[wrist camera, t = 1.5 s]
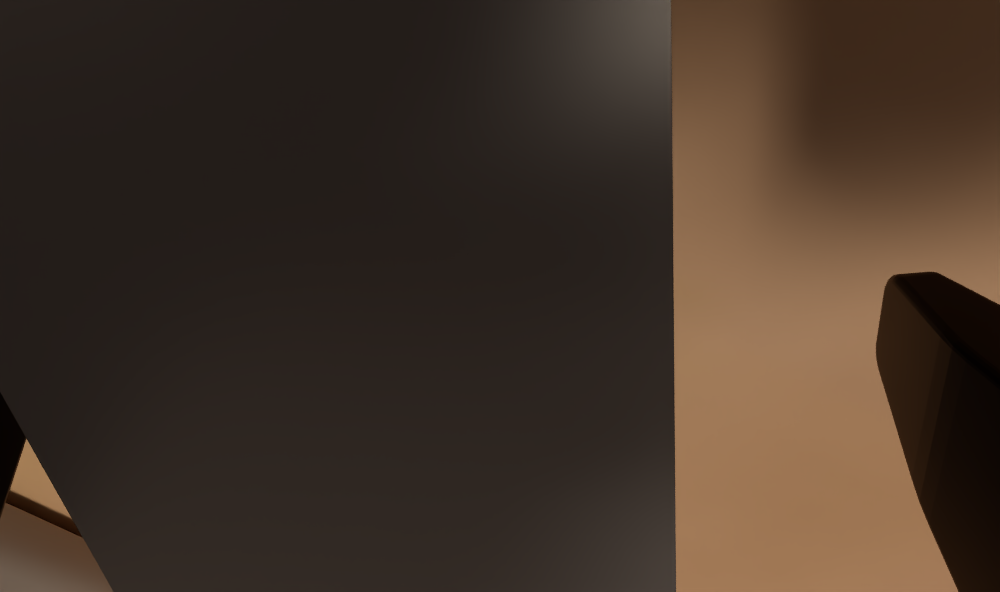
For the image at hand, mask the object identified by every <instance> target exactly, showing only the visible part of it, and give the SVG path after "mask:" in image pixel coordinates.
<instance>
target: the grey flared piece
mask: <svg viewBox="0 0 1000 592" xmlns="http://www.w3.org/2000/svg"><path fill="white" fill-rule="evenodd" d="M0 592H113V590H112V588H111V587H110V585H109V583H108V581H107V580H106V578H105V576H104V574H103V572H102V571H101V569H100V567H99V565H98V564H97V562H96V560H95V558H94V557H93V555H92V553H91V551H90V550H89V548H88V546H87V544H86V542H85V541H84V539H83V538H82V537H80V536H78V535H75V534H73V533H71V532H69V531H67V530H64V529H62V528H60V527H58V526H56V525H53V524H51V523H49V522H47V521H45V520H42V519H40V518H38V517H36V516H34V515H31V514H29V513H27V512H25V511H23V510H21V509H18V508H16V507H14V506H12V505H10V504H7V503H5V506H4V509H3V512H2V515H1V518H0Z"/></svg>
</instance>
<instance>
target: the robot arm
mask: <svg viewBox="0 0 1000 592" xmlns="http://www.w3.org/2000/svg"><path fill="white" fill-rule="evenodd" d="M876 358H877V364H878V369H879V372H880V376H881V379H882V382H883V386H884V389H885V392H886V395H887V399H888V402H889V405H890V409H891V412H892V415H893V419H894V422H895V425H896V429H897V432H898V435H899V438H900V442H901V445H902V448H903V452H904V455H905V458H906V462H907V465H908V468H909V471H910V475H911V478H912V481H913V484H914V487H915V490H916V493H917V496H918V499H919V502H920V505H921V507H922V510H923V512H924V514H925V517H926V519H927V522H928V524H929V526H930V529H931V531H932V533H933V535H934V538H935V540H936V542H937V544H938V547H939V549H940V551H941V553H942V556H943V558H944V560H945V562H946V565H947V567H948V569H949V571H950V574H951V576H952V578H953V580H954V583H955V585H956V587H957V589H958V592H1000V305H999V304H997V303H995V302H993V301H991V300H989V299H988V298H986V297H984V296H982V295H980V294H978V293H976V292H974V291H972V290H970V289H968V288H966V287H964V286H962V285H960V284H959V283H957V282H955V281H953V280H951V279H949V278H947V277H945V276H943V275H941V274H939V273H936V272H919V273H908V274H896V275H893V276H892V277H891V278H890V279H889V280H888V282H887V284H886V286H885V290H884V295H883V302H882V308H881V315H880V321H879V328H878V335H877V341H876ZM25 441H26V437H25V435H24V433H23V431H22V430H21V428H20V426H19V424H18V422H17V421H16V419H15V417H14V415H13V414H12V412H11V410H10V408H9V407H8V405H7V403H6V401H5V400H4V398H3V396H2V394H1V392H0V518H1V515H2V512H3V509H4V506H5V503H6V500H7V497H8V494H9V490H10V487H11V484H12V481H13V478H14V475H15V472H16V469H17V466H18V463H19V460H20V457H21V454H22V451H23V447H24V444H25Z"/></svg>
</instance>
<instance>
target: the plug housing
mask: <svg viewBox="0 0 1000 592" xmlns="http://www.w3.org/2000/svg"><path fill="white" fill-rule="evenodd" d="M0 392H1V394H2V396H3V398H4V400H5V401H6V403H7V405H8V407H9V408H10V410H11V412H12V414H13V415H14V417H15V419H16V421H17V422H18V424H19V426H20V428H21V430H22V431H23V433H24V435H25V437H26V438H27V440H28V442H29V444H30V445H31V447H32V449H33V451H34V452H35V454H36V456H37V458H38V460H39V461H40V463H41V465H42V467H43V468H44V470H45V472H46V474H47V475H48V477H49V479H50V481H51V482H52V484H53V486H54V488H55V490H56V491H57V493H58V495H59V497H60V498H61V500H62V502H63V504H64V505H65V507H66V509H67V511H68V512H69V514H70V516H71V518H72V520H73V521H74V523H75V525H76V527H77V528H78V530H79V532H80V534H81V535H82V537H83V539H84V541H85V542H86V544H87V546H88V548H89V550H90V551H91V553H92V555H93V557H94V558H95V560H96V562H97V564H98V565H99V567H100V569H101V571H102V572H103V574H104V576H105V578H106V580H107V581H108V583H109V585H110V587H111V588H112V590H113V592H676V542H675V420H674V298H673V176H672V55H671V0H0Z"/></svg>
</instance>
